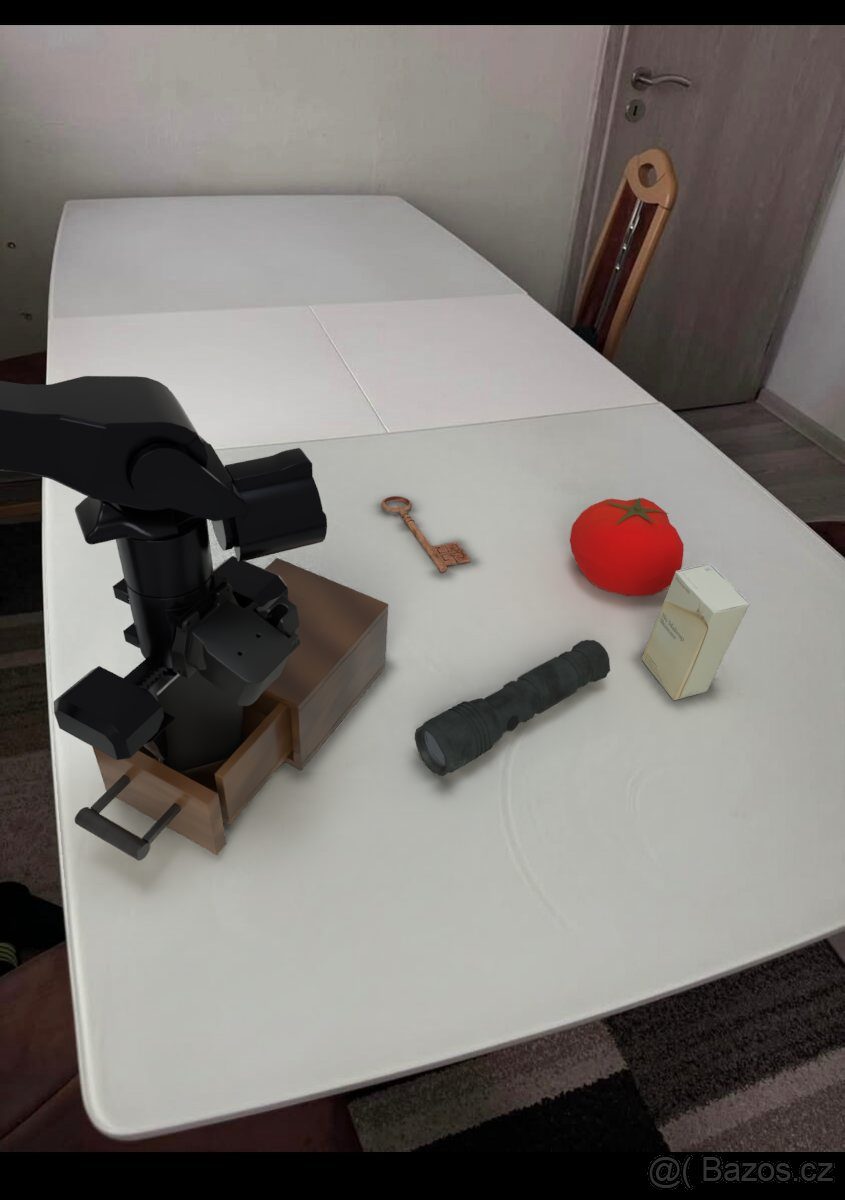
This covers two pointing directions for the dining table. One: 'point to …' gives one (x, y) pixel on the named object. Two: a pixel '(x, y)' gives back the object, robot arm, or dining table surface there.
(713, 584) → the cosmetic box
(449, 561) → the key
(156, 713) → the robot arm
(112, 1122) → the dining table surface
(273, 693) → the cabinet
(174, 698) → the battery charger
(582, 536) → the tomato
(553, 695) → the flashlight
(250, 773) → the drawer
